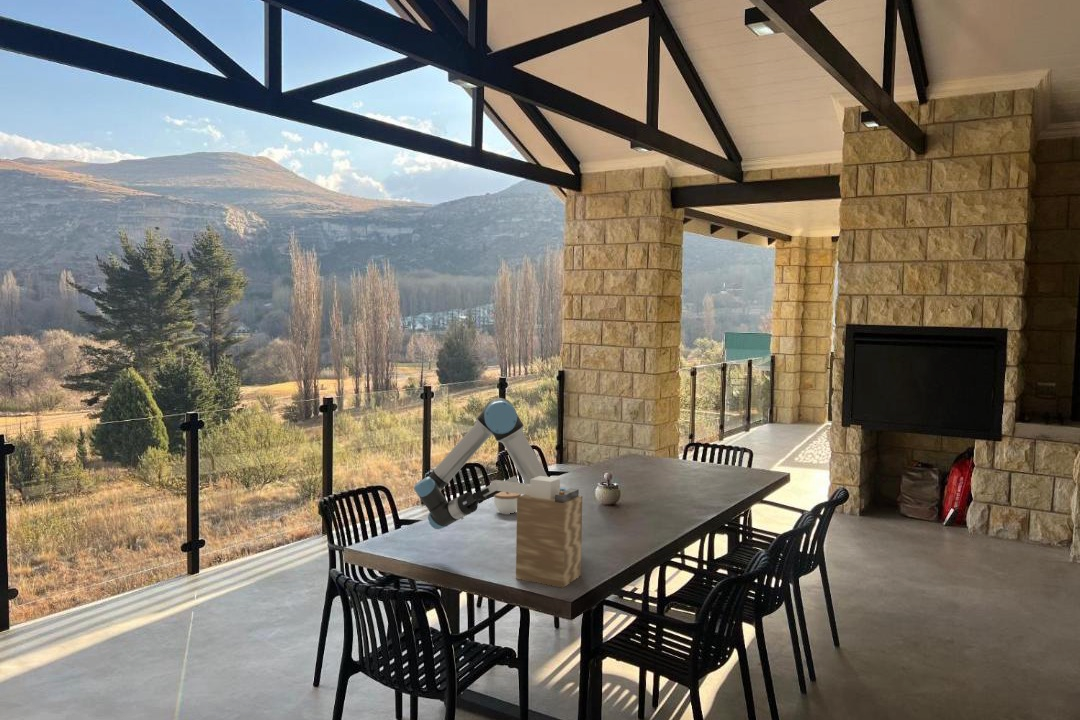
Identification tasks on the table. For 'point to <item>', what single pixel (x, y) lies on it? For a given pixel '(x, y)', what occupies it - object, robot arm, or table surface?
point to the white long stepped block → (532, 487)
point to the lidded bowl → (506, 502)
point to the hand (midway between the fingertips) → (506, 482)
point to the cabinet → (549, 538)
